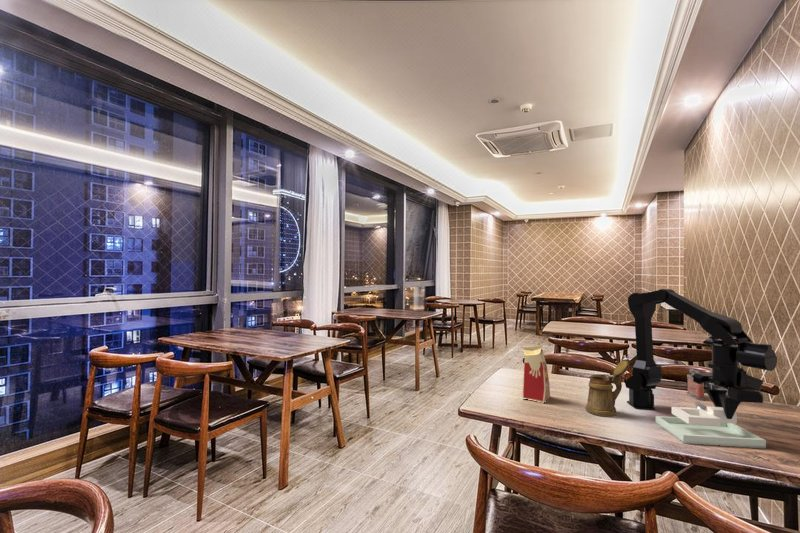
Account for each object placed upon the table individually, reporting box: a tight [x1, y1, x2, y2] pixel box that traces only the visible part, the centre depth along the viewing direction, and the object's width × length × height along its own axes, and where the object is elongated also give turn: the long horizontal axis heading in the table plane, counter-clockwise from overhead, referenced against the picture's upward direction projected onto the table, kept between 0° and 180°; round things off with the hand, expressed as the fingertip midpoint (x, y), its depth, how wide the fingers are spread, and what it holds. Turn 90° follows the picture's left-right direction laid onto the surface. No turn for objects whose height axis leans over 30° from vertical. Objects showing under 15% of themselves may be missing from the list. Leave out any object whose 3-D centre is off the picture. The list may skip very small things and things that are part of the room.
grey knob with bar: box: [694, 401, 707, 411], centre depth 116 cm, size 2×3×5 cm
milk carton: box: [521, 344, 551, 404], centre depth 136 cm, size 9×9×20 cm
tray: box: [655, 415, 767, 450], centre depth 105 cm, size 20×14×2 cm
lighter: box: [686, 368, 706, 402], centre depth 138 cm, size 8×3×10 cm, turn 168°
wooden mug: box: [585, 358, 631, 418], centre depth 122 cm, size 9×14×18 cm, turn 81°
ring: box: [671, 406, 738, 426], centre depth 105 cm, size 14×8×4 cm, turn 82°
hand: (725, 416), depth 104 cm, fingers closed on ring, 2 cm apart
